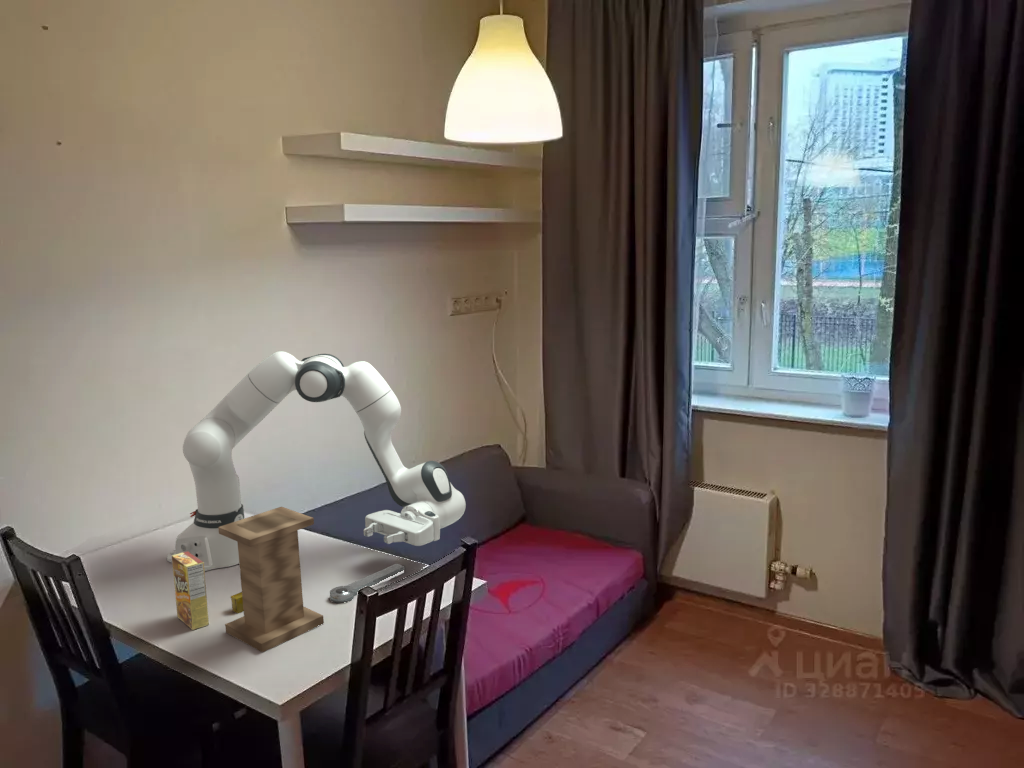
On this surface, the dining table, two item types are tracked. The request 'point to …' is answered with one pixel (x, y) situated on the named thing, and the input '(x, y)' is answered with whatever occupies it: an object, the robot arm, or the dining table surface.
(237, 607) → the medication box
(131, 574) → the dining table surface
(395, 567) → the spanner
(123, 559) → the dining table surface
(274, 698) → the dining table surface
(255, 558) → the stand
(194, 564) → the candy box
